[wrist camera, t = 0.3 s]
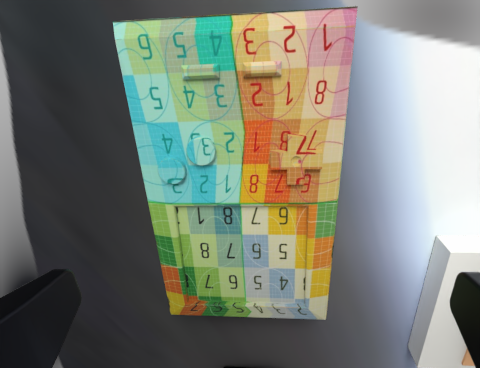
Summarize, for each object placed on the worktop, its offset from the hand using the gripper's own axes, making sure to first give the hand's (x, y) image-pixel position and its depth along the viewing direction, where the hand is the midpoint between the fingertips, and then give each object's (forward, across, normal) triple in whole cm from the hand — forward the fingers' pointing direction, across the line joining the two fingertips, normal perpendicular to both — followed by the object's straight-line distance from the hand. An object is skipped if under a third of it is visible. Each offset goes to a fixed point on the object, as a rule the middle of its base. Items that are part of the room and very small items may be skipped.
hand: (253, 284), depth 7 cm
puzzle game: (+15, +2, +4) cm, 15 cm away
